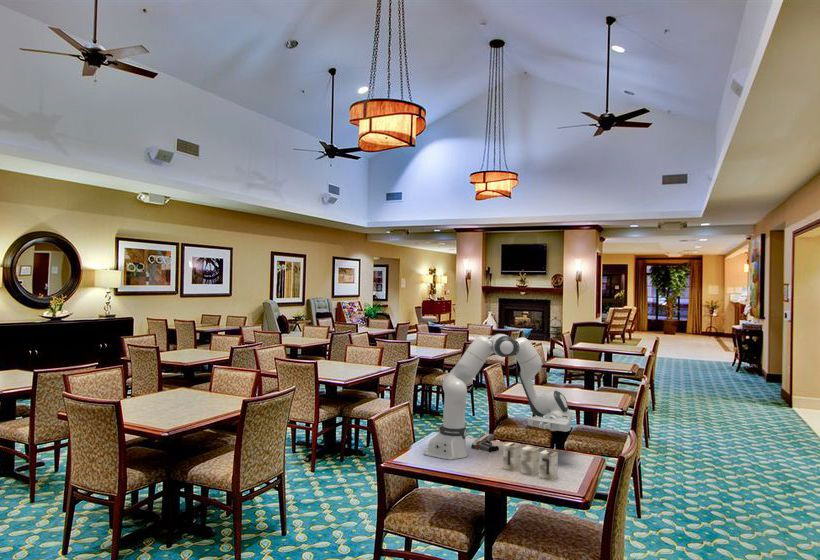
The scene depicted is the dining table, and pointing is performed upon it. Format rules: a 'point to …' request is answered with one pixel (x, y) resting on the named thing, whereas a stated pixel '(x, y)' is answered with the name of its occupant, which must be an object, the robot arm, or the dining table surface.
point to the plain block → (530, 460)
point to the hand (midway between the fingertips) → (541, 426)
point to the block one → (512, 456)
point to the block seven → (548, 465)
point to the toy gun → (485, 443)
